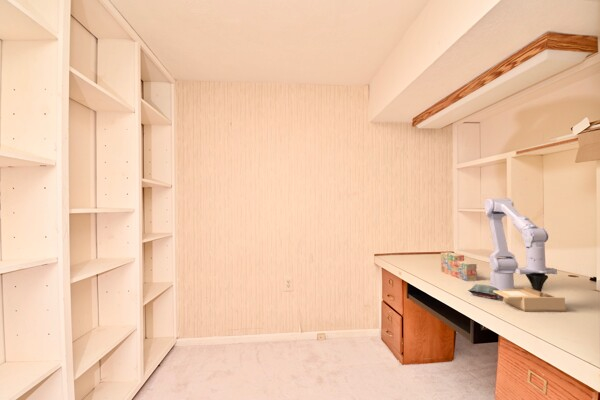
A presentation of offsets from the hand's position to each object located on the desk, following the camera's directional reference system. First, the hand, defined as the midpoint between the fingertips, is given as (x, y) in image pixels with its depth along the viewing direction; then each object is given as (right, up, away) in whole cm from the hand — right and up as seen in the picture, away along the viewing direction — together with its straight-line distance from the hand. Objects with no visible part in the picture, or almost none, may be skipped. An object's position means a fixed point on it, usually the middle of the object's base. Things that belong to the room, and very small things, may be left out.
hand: (537, 292), depth 107 cm
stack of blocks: (-3, -8, +48) cm, 48 cm away
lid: (-7, -1, 0) cm, 7 cm away
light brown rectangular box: (-2, -6, 0) cm, 6 cm away
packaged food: (-11, -7, +13) cm, 19 cm away
